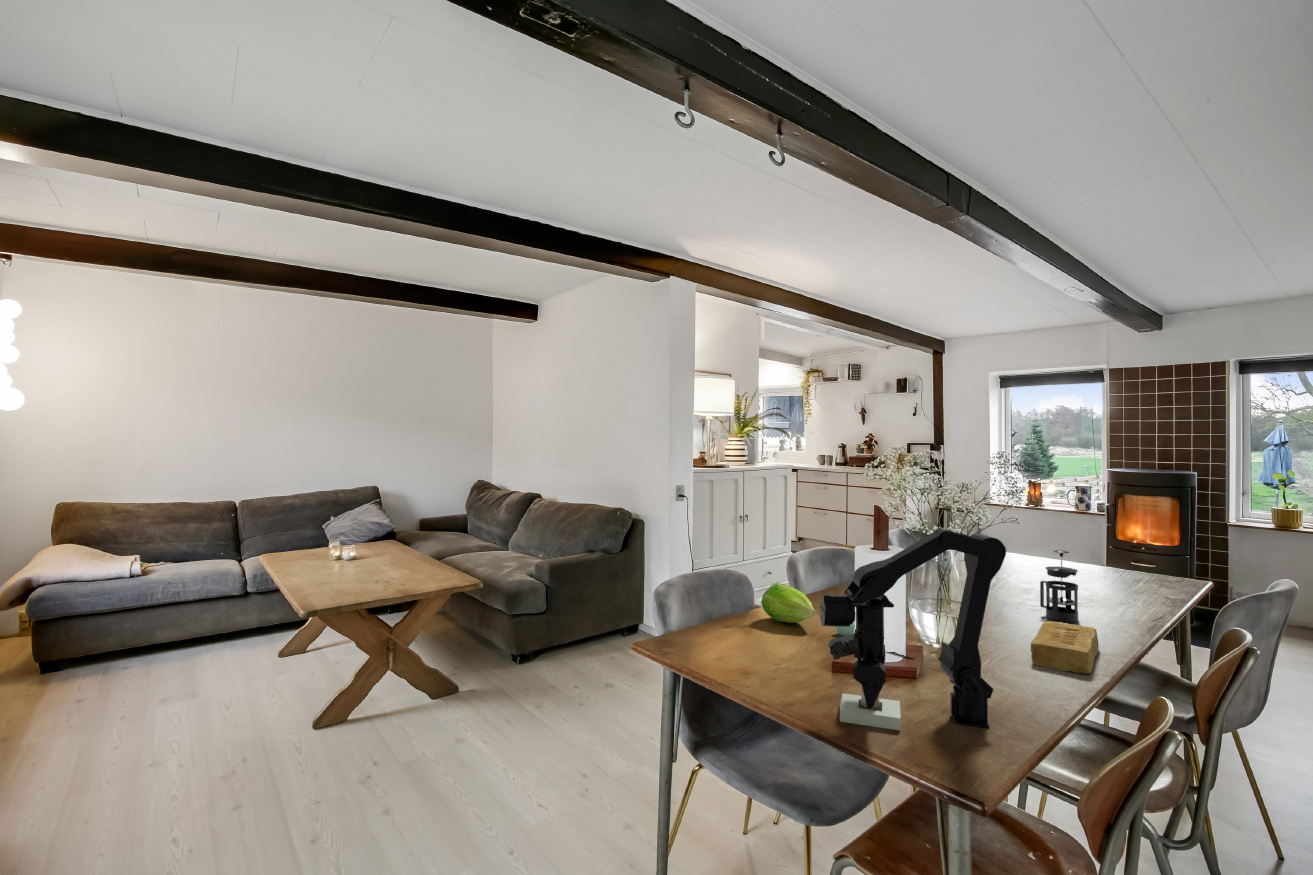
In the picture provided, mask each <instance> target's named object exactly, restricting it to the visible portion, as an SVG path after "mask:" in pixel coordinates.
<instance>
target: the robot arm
mask: <svg viewBox="0 0 1313 875" xmlns="http://www.w3.org/2000/svg"><path fill="white" fill-rule="evenodd" d="M948 550H953V551H956V552H960V553H963V561H964V564H965V569H966V577H965V581H964V587H963V593H962V596H961V597H962V598H961V601H960V606H959V612H958V617H957V622H956V627H955V631H954V636H953V638H952V640H950V642H949V643H946V642H942V643H941V650H940V655H939V656H938V658H937V660H938V661H939V662H940V668H941V670H942V672H943V673H944V674H945V676H946V677H948V678H949V681H950V683H952V684H953V685H952V692H950V693H949V697H950V698H949V700H950V702H949V703H950V704H949V705H950V706H949V707H950V708H949V712H950V715H951V717H953V720H954V723H956V724H961V725H962V724H963V725H968V726H975V727H982V728H990V722H989V721H988V720H989V718H988V717H989V716H988V715H989V714H988V713H989V712H988V710H989V709H988V705H989V704H988V699H991V697H992V694H993V692H994V688H993V687H992V686H991V685H990V684H989V683H988V682H987V681H985V679H984V678H983V677H982V659H981V656H980V655H981V654H980V650H979V642H980V638H981V633H982V628H983V623H984V620H985V619H984V618H985V614H986V608H987V602H988V599H989V593H990V589H991V588H990V587H991V584H992V580H993V579H994V578H995V576H996V575H997V574H998V572H999V571H1000V570H1001V568H1002V566H1003V563H1004V561H1005V558H1006V555H1007V548H1006V546H1005V545H1004V543H1003V542H1002V541H1001V540H1000V539H998V538H996V537H992V536H989V535H987V534H983V533H978V532H976V533H973V534H971V535H968V534H964V533H960V532H955V531H952V530H949V529H947V528H943V527H941V528H940V527H939V528H936V529H935V530H934V531H933V532H932V533H931V534H929V535H927V536H925V537H924V538H922V539H920V540H918V541H916V542H915V543H913V544H911V545H909V546H907V547H906V548H904V549H903V550H901V551H899V552H897V553H895V554H894V555H892V556H891V557H888V558H886V559H885V558H884V559H882V560H877V561H872V562H870V563H868V564H865V565H862V566H859V567H858V568H857V569H856V570H854V572H853V573H854V574H853V578H852V580H851V582H850V583H849V585H848V586H847V587H846V589H844V591H843V594H831V593H822V594H821V600H820V604H819V607H818V608H819V610H818V611H819V619H820V623H821V626H822V627H835V626H840V627H849V626H850V624H853V622H854V621H855V622H856V629H855V633H854V634H852V635H846V636H843V635H841V636H838V637H836V638H832V639H830V640H829V642H828V647H829V650H830V651H829V653H830V655H831V656H832V657H833V660H840V659H841V658H844V657H849V656H852V655H853V658H855V659H857V660H856V661H855V662H854V663H853V666H852V677H853V679H854V680H855V681H856V682H858V683H859V684H860V685H862V688H863V692H864V696H865V700H866V705H867V708H873V706H874V704H875V702H876V700H877V697H878V695H879V696H880V693H881V691H882V689H883V687H884V685H885V683H886V666H885V662H886V650H885V645H884V639H885V619H884V618H885V614H884V613H885V608H894V607H895V604H894V603H893V602H891V600H890V599H889V598H888V596H887V595H886V593H887V592H889V590H890V589H892V588H893V587H894V586H895V584H896V583H897V582H898V581H899V579H900V578H902V577H903V576H905V575H906V574H908V573H910V572H911V571H913V570H915V569H916V568H918V567H921V565H922V566H923V564H926V563H927V562H929V561H931V560H932V559H935V558H936V557H938V556H939V555H941V554H943V553H945V552H946V551H948Z"/></svg>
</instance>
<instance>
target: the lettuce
mask: <svg viewBox="0 0 1313 875" xmlns="http://www.w3.org/2000/svg"><path fill="white" fill-rule="evenodd" d="M760 604H761V606H762V610H763V611H764V612H765V613H766V615H768V616H769V617H770V618H771V619H773V620H774V621H775V622H781V623H800V622H802V621H805V620H809V619H813V618H814V617H815V615H816V610H815V608H814V607H813V604H812V602H811V600H810V599H809V598H808V596H807V595H806V594H805V593H804V592H802V591H800V590H799V589H797V588H796V587H792V586H790V585H786V584H784V583H779V582H776V583H773V584H771V586H769V588H767V589H766V591H765V592H763V594H762V598H761V601H760Z"/></svg>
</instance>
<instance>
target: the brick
mask: <svg viewBox="0 0 1313 875" xmlns="http://www.w3.org/2000/svg"><path fill="white" fill-rule="evenodd" d="M1099 644H1100V643H1099V638H1098V631H1097V629H1096V628H1095V627H1091V626H1086V625H1085V626H1083V625H1079V624H1067V623H1060V622H1053V621H1050V620H1047V621H1044V622H1043V623H1042V624H1041V625H1040V627H1039V629H1038V631H1037V633H1036V635H1035V637H1034V638H1033V639H1032V640H1031V642H1030V652H1031V655H1030V656H1031V657H1030V658H1031V661H1032V663H1033V664H1034V665H1035V666H1038V667H1042V666H1043V667H1042V668H1046V667H1047V669H1052V668H1054V669H1053V670H1056V669H1058V670H1057V671H1061V670H1063V671H1062V672H1069V671H1072V672H1071V673H1074V672H1075V673H1074V674H1077V673H1082V674H1081V675H1084V674H1088V675H1090V674H1091V673H1092V670H1093V666H1094V662H1095V658H1096V657H1097V655H1098V654H1097V653H1099V647H1100V646H1099ZM1095 656H1096V657H1095Z"/></svg>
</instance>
